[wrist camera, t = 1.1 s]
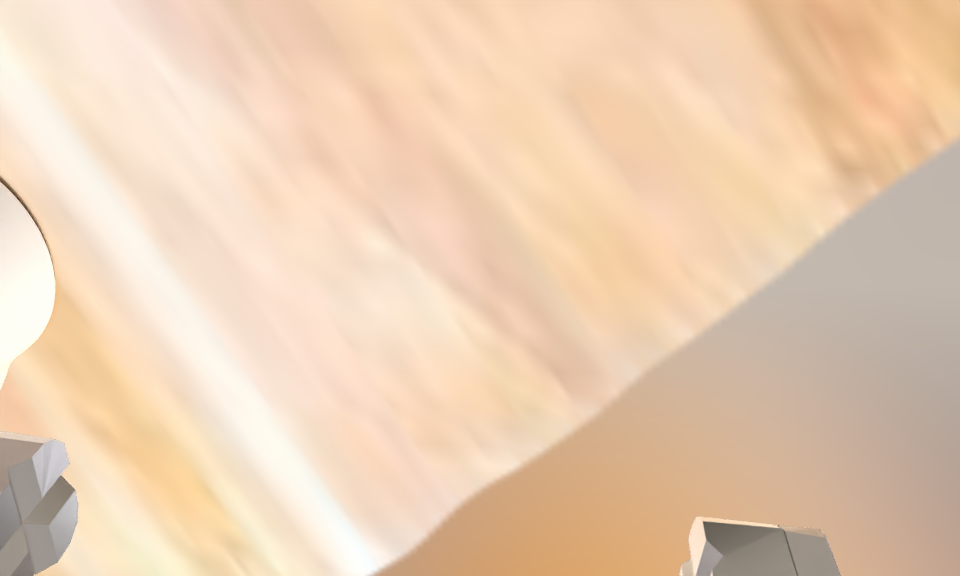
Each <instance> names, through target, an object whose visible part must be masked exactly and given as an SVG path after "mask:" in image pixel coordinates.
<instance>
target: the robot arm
mask: <svg viewBox="0 0 960 576" xmlns="http://www.w3.org/2000/svg"><path fill="white" fill-rule="evenodd" d="M54 299H55V277H54V270H53V265H52V261H51V258H50V254H49V251H48V249H47V246H46V243H45V241H44V239H43V237H42V235H41V233H40V231H39V229H38V227H37V226H36V224H35V222H34V221H33V219H32V218H31V216H30V215H29V213H28V212H27V211H26V209H25V208H24V207H23V205H22V204H21V203H20V202H19V200H18V199H17V198H16V197H15V196H14V195H13V194H12V193H11V192H10V191H9V190H8V189H7V188H6V187H5V186H4V185H3V184H2V183H1V182H0V389H1V387H2V385H3V383H4V381H5V378H6V375H7V372H8V368H9V365H10V364H11V363H12V361H13V360H14V359H15V358H16V357H17V356H19V355H20V354H21V353H22V352H24V351H25V350H26V349H27V348H29V347H30V346H31V345H32V344H33V343H34V342H35V341H36V340H37V339H38V338H39V336H40V335H41V334H42V332H43V331H44V329H45V327H46V325H47V324H48V321H49V319H50V316H51V313H52V310H53V306H54ZM69 464H70V463H69V459H68V456H67V452H66V448H65V445H64V443H62V442H60V441H58V440H56V439H51V438H45V437H38V436H31V435H24V434H17V433H10V432H3V431H0V576H36V574H38V573H40V572H41V571H43V570H45V569H47V568H48V567H50V566H52V565H54V564H55V563H57V562H58V561H59V559H60V558H61V556H62V555H63V553H64V552H65V550H66V549H67V547H68V546H69V544H70V542H71V539H72V536H73V533H74V530H75V527H76V524H77V519H78V501H77V496H76V491H75V489H74V488H73V487H72V486H71V485H70V484H69V483H68V482H67V481H66V480H65V479H64V478H63V477H62V476H61V475H62V473H63V472H64V470H65V469H66V468H67V466H68V465H69ZM688 540H689V547H690V553H691V558H690V559H689V560H688V561H686V562H685V563H684V564H682V565H681V569H680V574H679V576H841V575H840V572H839V569H838V567H837V564H836V562H835V559H834V556H833V553H832V551H831V548H830V545H829V543H828V540H827V538H826V535H825V534H824V533H823V532H822V531H821V530H820V529H812V528H803V527H794V526H783V525H778V526H775V525H770V524H761V523H753V522H744V521H734V520H726V519H717V518H708V517H699V516H697V517H696V519H695V521H694V522H693V524H692V527H691V531H690V535H689V539H688Z"/></svg>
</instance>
